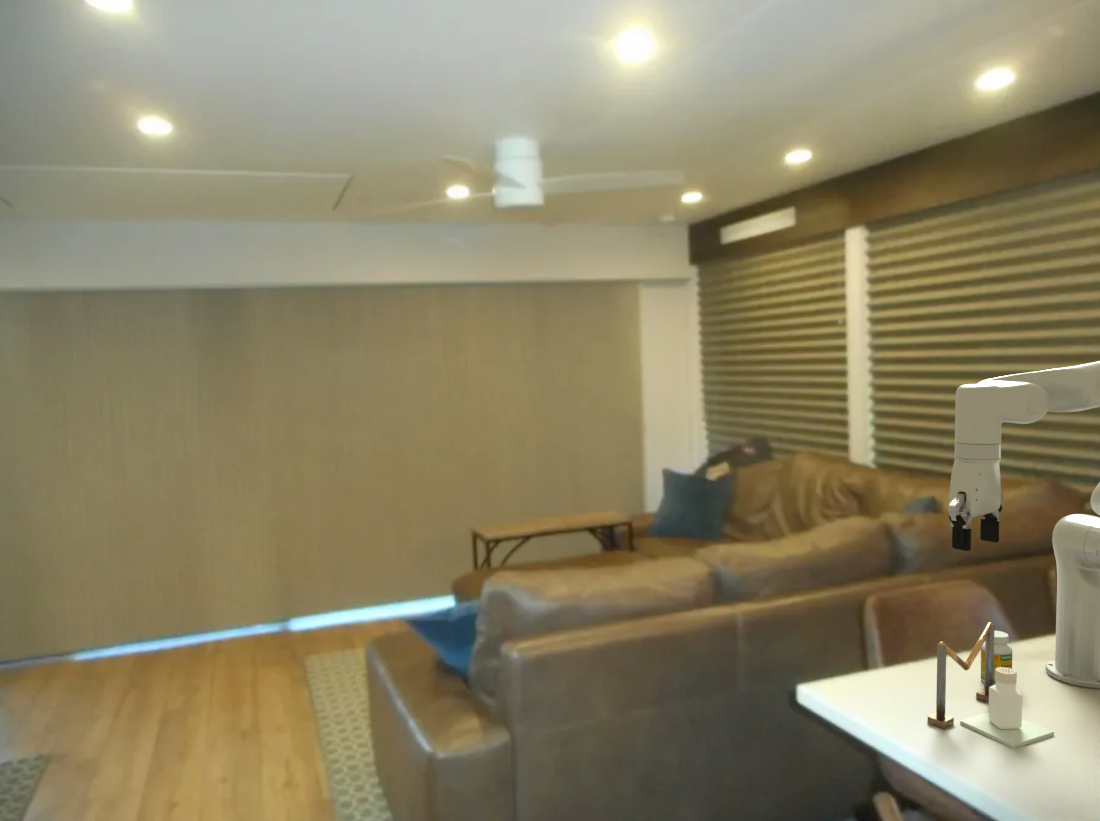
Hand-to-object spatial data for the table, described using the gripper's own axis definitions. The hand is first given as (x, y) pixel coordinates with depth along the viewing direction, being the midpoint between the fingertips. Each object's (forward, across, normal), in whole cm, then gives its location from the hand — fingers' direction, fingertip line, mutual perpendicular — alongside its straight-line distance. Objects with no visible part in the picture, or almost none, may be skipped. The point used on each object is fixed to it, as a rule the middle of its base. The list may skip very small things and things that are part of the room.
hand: (975, 545), depth 156 cm
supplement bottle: (+28, -9, 0) cm, 30 cm away
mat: (+28, +9, +11) cm, 32 cm away
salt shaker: (+28, +9, +10) cm, 31 cm away
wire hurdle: (+28, +8, +3) cm, 29 cm away
